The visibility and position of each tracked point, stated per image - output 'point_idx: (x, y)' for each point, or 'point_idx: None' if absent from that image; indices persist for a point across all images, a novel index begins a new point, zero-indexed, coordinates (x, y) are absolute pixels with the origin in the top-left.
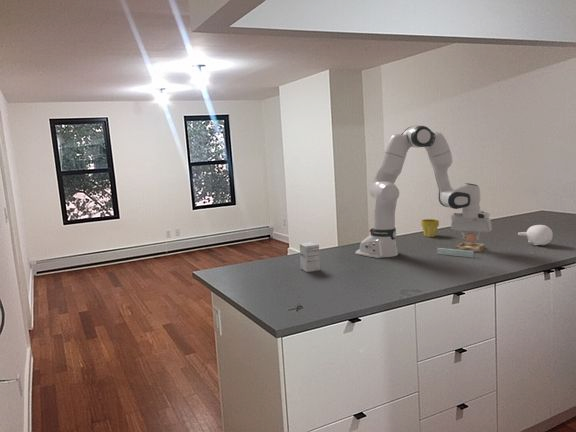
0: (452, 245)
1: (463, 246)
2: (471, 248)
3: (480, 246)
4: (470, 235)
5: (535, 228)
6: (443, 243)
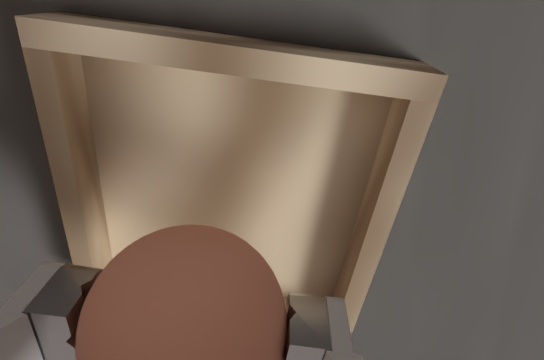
0: (446, 305)
1: (323, 256)
2: (157, 35)
3: (75, 190)
4: (148, 326)
5: None
6: (535, 355)
